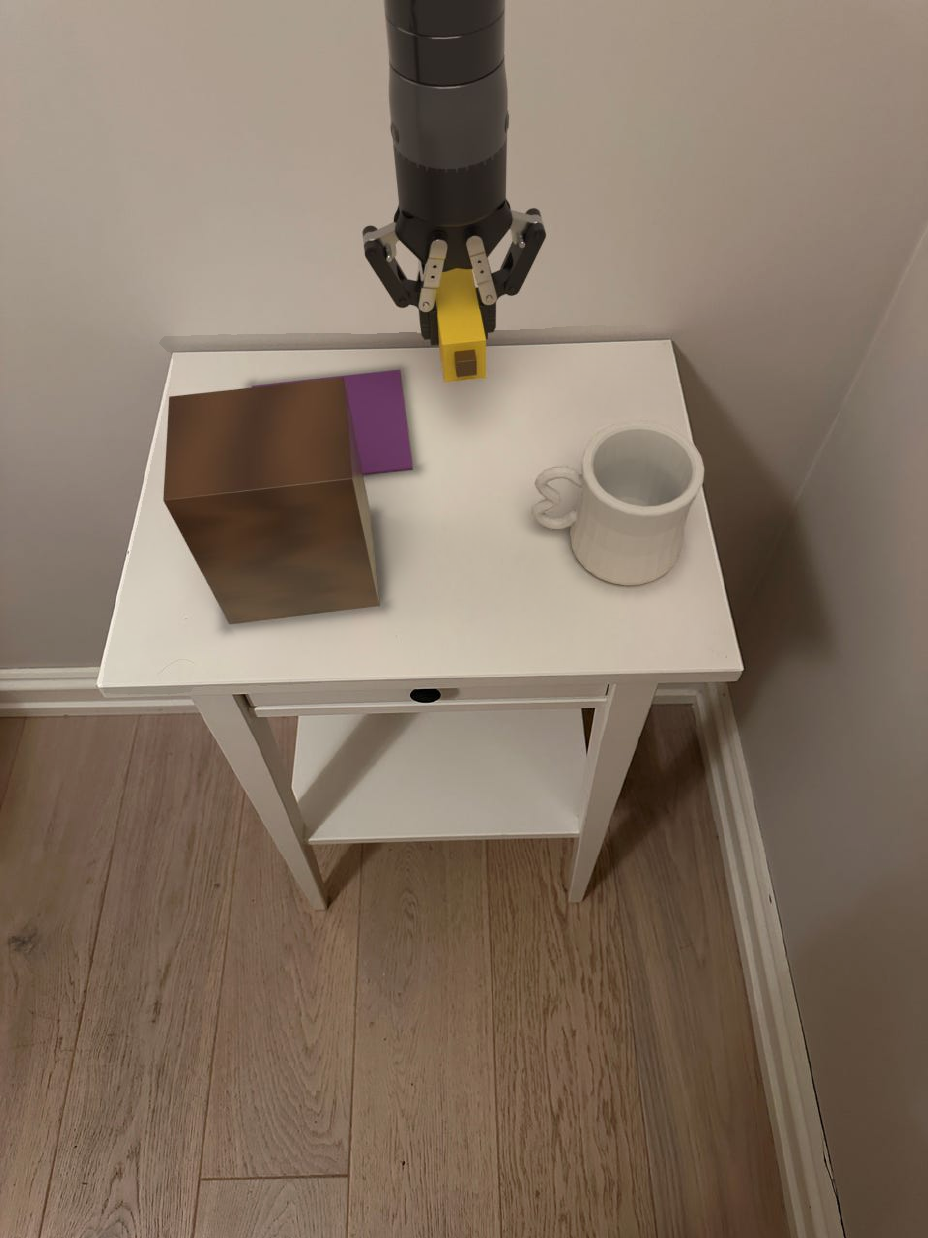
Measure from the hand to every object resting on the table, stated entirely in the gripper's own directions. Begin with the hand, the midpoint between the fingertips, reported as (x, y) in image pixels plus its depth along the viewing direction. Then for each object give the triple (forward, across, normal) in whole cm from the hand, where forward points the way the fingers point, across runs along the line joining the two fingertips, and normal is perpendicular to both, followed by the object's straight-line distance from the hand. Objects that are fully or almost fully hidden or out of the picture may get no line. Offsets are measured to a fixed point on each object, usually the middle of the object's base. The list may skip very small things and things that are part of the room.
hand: (457, 334), depth 71 cm
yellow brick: (+1, 0, 0) cm, 1 cm away
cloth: (+9, +12, 0) cm, 15 cm away
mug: (+9, -10, +16) cm, 21 cm away
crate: (+9, +15, +15) cm, 23 cm away
